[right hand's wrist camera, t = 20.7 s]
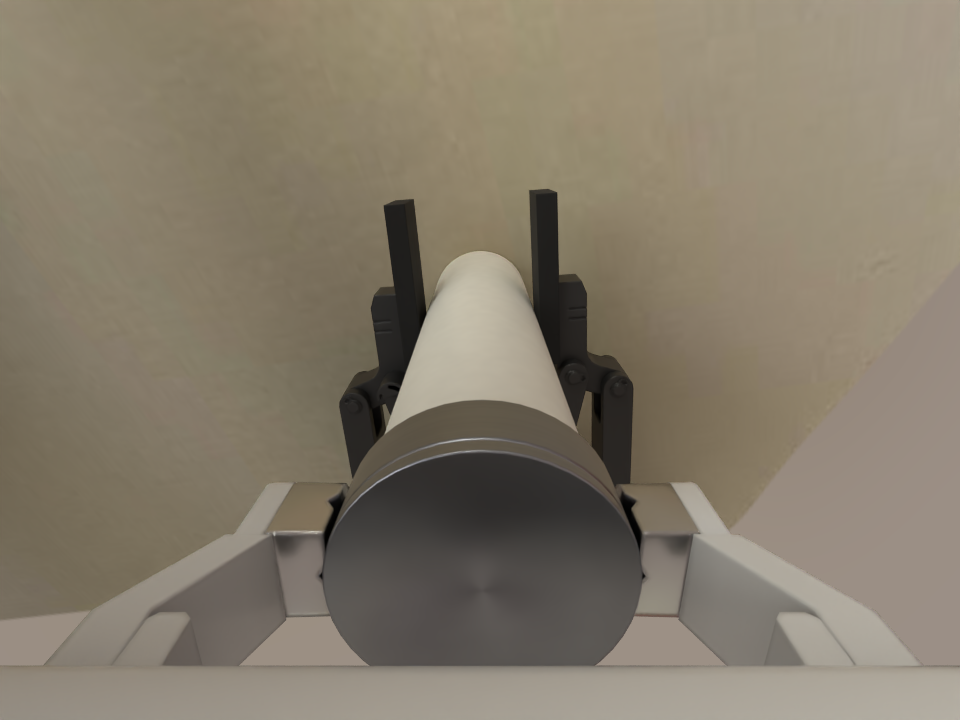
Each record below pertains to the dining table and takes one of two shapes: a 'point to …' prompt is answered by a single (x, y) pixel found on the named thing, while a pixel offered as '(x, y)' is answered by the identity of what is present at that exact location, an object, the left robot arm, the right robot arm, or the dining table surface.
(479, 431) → the lid
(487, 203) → the dining table surface
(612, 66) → the dining table surface
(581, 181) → the dining table surface
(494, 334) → the white cylinder
